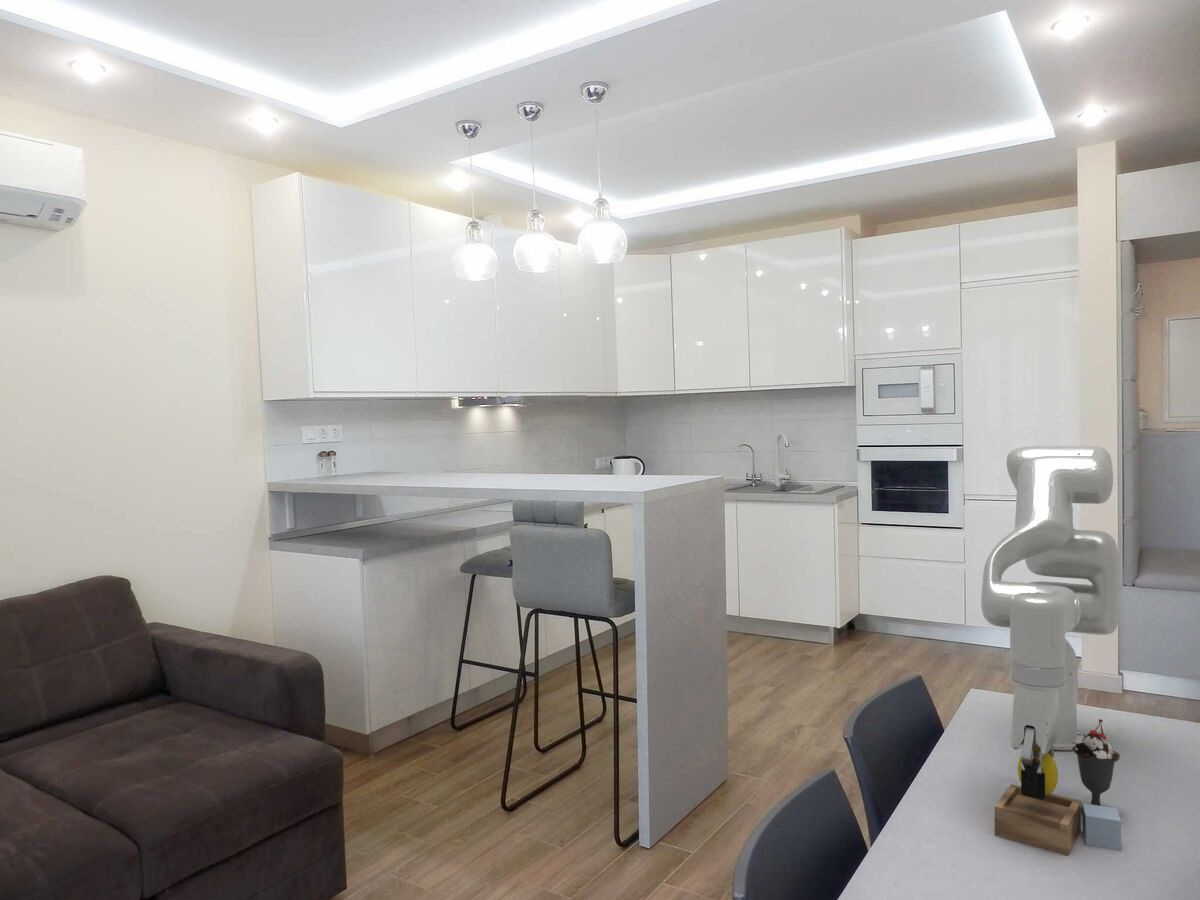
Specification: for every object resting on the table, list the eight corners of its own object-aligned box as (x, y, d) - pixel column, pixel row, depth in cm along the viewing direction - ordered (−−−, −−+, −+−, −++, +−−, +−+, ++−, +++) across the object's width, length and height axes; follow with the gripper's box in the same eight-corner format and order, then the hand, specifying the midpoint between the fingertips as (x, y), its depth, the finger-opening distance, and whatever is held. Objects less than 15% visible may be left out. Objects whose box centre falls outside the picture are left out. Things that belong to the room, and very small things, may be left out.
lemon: (1063, 807, 125) (1063, 754, 124) (1023, 804, 126) (1023, 752, 125) (1051, 791, 130) (1051, 741, 130) (1013, 788, 131) (1013, 739, 131)
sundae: (1113, 807, 136) (1113, 716, 135) (1125, 825, 129) (1124, 731, 129) (1068, 801, 138) (1068, 713, 137) (1077, 820, 131) (1076, 726, 131)
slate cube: (1082, 831, 128) (1082, 803, 128) (1116, 837, 126) (1116, 808, 126) (1085, 845, 124) (1085, 815, 124) (1120, 851, 122) (1120, 821, 122)
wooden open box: (1011, 811, 135) (1011, 784, 135) (1081, 829, 128) (1081, 801, 128) (994, 835, 127) (994, 806, 127) (1068, 855, 121) (1067, 825, 121)
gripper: (1024, 657, 136) (1025, 765, 137) (996, 683, 123) (996, 803, 124) (1076, 665, 131) (1076, 777, 132) (1052, 693, 118) (1052, 817, 119)
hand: (1038, 788), depth 128 cm, fingers closed on lemon, 5 cm apart
